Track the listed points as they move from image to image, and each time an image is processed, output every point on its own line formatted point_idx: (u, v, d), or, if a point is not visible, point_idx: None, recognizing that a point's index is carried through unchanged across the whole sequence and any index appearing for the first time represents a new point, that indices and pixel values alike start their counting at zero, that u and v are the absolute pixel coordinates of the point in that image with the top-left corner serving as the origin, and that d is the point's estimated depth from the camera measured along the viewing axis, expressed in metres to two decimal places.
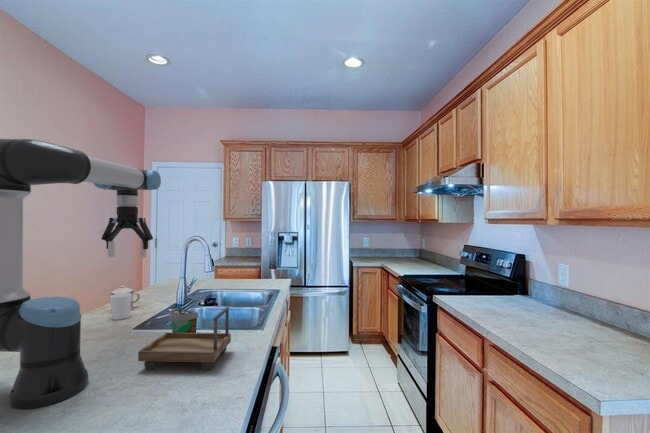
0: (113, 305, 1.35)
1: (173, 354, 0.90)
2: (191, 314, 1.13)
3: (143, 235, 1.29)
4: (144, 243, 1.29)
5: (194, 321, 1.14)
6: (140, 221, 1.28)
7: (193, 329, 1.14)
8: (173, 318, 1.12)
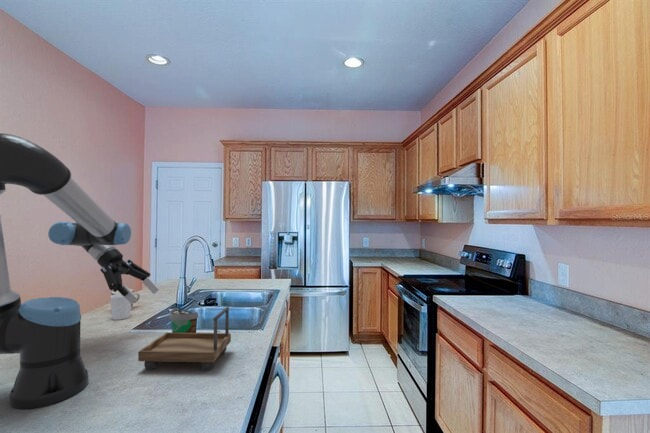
0: (113, 305, 1.35)
1: (173, 354, 0.90)
2: (191, 314, 1.13)
3: None
4: None
5: (194, 321, 1.14)
6: (131, 262, 1.22)
7: (193, 329, 1.14)
8: (173, 318, 1.12)
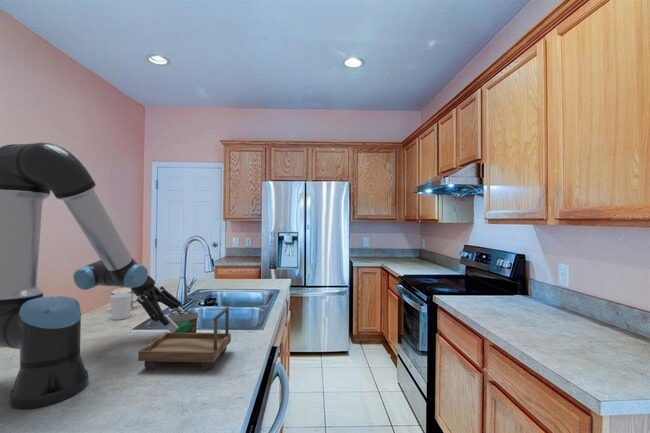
0: (113, 305, 1.35)
1: (173, 354, 0.90)
2: (191, 314, 1.13)
3: None
4: None
5: (194, 321, 1.14)
6: (164, 289, 1.21)
7: (194, 329, 1.14)
8: (173, 319, 1.11)
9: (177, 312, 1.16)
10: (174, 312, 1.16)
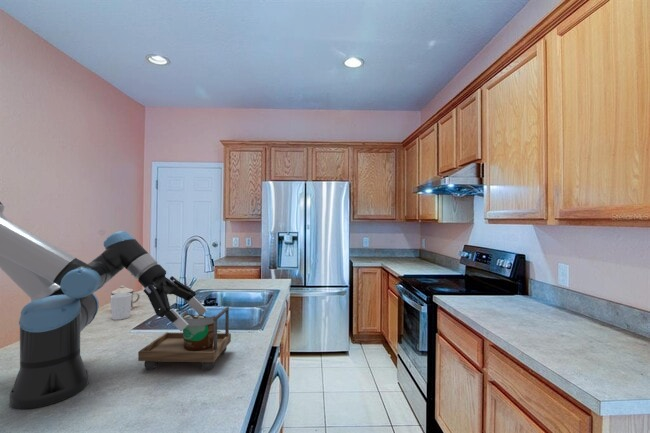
0: (113, 305, 1.35)
1: (173, 354, 0.90)
2: (208, 318, 0.95)
3: None
4: None
5: (211, 326, 0.96)
6: (175, 279, 1.04)
7: (211, 336, 0.96)
8: None
9: (190, 316, 0.98)
10: (186, 316, 0.98)
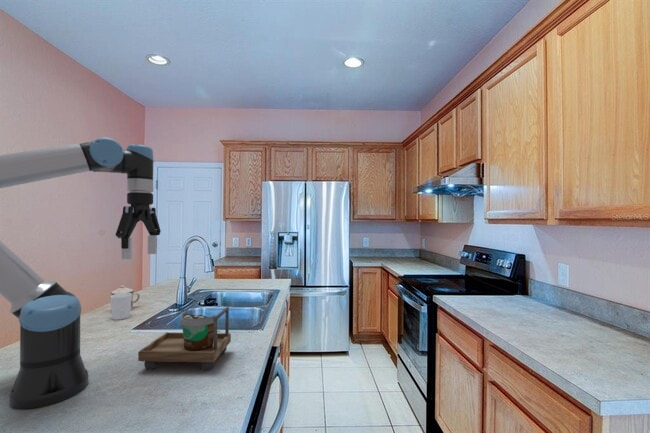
0: (113, 305, 1.35)
1: (173, 354, 0.90)
2: (208, 318, 0.95)
3: None
4: None
5: (211, 326, 0.96)
6: (154, 211, 1.10)
7: (211, 336, 0.96)
8: (187, 324, 0.93)
9: (190, 316, 0.98)
10: (186, 316, 0.98)
